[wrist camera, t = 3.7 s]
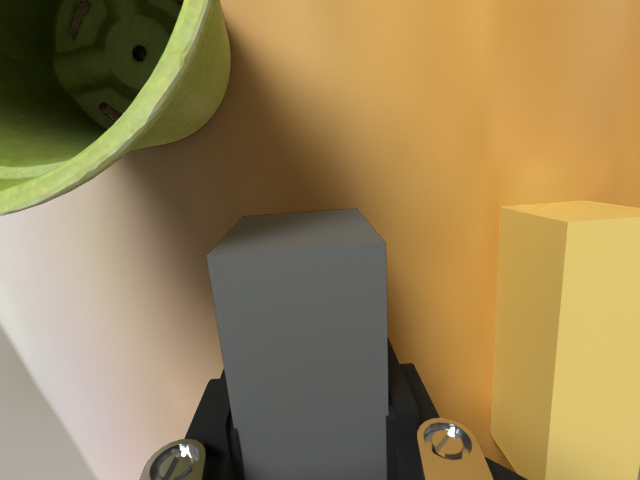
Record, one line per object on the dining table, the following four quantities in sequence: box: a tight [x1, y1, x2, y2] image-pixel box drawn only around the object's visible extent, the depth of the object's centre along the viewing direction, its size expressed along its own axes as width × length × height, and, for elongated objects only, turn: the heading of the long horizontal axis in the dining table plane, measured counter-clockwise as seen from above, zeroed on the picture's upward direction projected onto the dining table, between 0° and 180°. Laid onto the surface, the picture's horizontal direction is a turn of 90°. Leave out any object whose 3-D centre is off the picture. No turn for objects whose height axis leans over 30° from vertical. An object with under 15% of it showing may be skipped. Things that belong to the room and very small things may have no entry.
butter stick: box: [490, 200, 640, 480], centre depth 14 cm, size 11×4×4 cm, turn 4°
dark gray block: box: [206, 208, 389, 480], centre depth 10 cm, size 11×4×4 cm, turn 4°
